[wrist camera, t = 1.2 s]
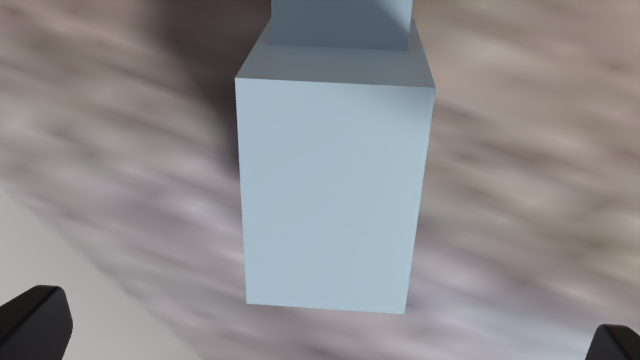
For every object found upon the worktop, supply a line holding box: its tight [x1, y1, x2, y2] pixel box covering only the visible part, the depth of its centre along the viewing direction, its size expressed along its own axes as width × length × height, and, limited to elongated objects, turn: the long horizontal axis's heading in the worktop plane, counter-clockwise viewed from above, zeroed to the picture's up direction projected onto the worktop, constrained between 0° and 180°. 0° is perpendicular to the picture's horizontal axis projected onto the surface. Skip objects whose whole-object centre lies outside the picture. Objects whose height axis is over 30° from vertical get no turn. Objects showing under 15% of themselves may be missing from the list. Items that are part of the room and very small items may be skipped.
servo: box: [235, 0, 436, 314], centre depth 15 cm, size 4×9×6 cm, turn 179°
